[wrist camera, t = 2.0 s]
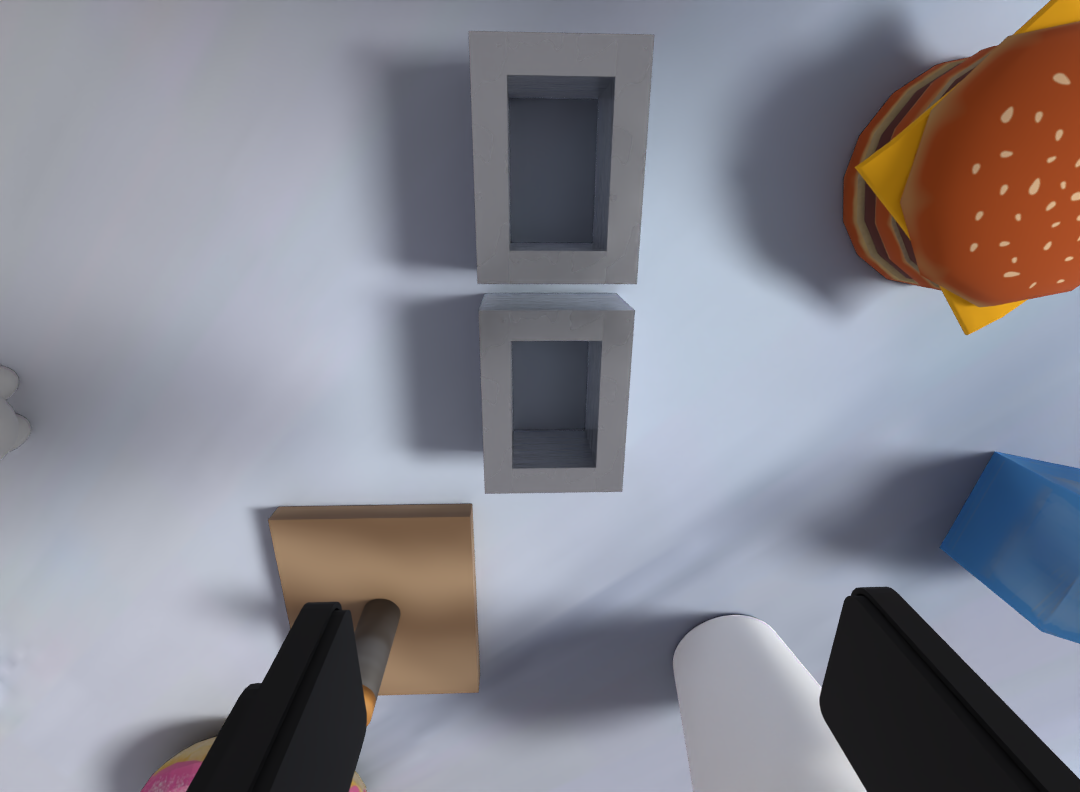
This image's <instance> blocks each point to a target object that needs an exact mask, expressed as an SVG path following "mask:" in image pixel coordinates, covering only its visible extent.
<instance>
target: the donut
mask: <svg viewBox="0 0 1080 792" xmlns="http://www.w3.org/2000/svg"><path fill="white" fill-rule="evenodd" d="M215 739H216V737H213V738H210V739H207V740H204V741H201V742H198V743H196V744H194V745H192V746H190V747H188V748H187V749H185V750H183V751H181V752H180V753H178V754H177V755H176V756H174V757H173V758H171V759H170V760H169V761H167V762H166V763H165V764H164V765H163V766H161V767H160V768H159V769H158V770H157V771H156V772H155V773H154V774H153V775H152V776H151V777H150V779H149V780H148V782H147V783H146V785H145V786H144V787H143V789H142V790H141V792H186V790H187V789H188V787H189V785H190V783H191V782H192V780H193V778H194V776H195V774H196V773H197V771H198V769H199V767H200V766H201V764H202V762H203V760H204V759H205V757H206V755H207V753H208V751H209V750H210V748H211V746H212V744H213V743H214V741H215ZM349 792H367V790H366V786H365V785H364V783H363V781H362V780H361V778H360V777H359V775H358V773H357V772H356V771H355V772H354V776H353V779H352V783H351V786H350V790H349Z"/></svg>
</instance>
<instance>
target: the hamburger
mask: <svg viewBox="0 0 1080 792" xmlns="http://www.w3.org/2000/svg"><path fill="white" fill-rule="evenodd" d="M843 222H844V225H845V227H846V229H847V232H848V234H849V236H850V239H851V241H852V244H853V246H854V248H855V251H856V253H857V255H858V256H859V257H861V258H862V259H863V260H864V261H865V262H867V263H868V264H869V265H870V266H872V267H873V268H874V269H875V270H876V271H878V272H879V273H880V274H881V275H882V276H884V277H885V278H886V279H889V280H894V281H898V282H903V283H908V284H912V285H917V286H921V287H926V288H932V289H937V290H942V292H943V294H944V296H945V298H946V299H947V301H948V303H949V305H950V307H951V309H952V311H953V313H954V315H955V316H956V318H957V320H958V322H959V324H960V326H961V328H962V330H963V331H964V333H965V335H969V334H971V333H973V332H975V331H976V330H978V329H980V328H982V327H984V326H986V325H988V324H990V323H992V322H994V321H996V320H998V319H1000V318H1002V317H1003V316H1005V315H1006V314H1008V313H1009V312H1010V311H1012V310H1013V309H1015V308H1016V307H1018V306H1019V305H1020V304H1022V303H1023V302H1025V301H1026V300H1028V299H1032V298H1037V297H1042V296H1048V295H1053V294H1058V293H1063V292H1068V291H1072V290H1073V289H1075V288H1076V287H1078V286H1079V285H1080V0H1050V1H1049V2H1048V3H1047V4H1046V5H1045V6H1044V7H1043V8H1042V9H1041V10H1040V11H1038V12H1037V13H1036V14H1035V15H1034V16H1033V17H1032V18H1031V19H1030V20H1029V21H1027V22H1026V23H1025V24H1024V25H1023V26H1022V27H1021V28H1020V29H1019V30H1018V31H1016V32H1015V33H1014V34H1013V35H1011V36H1008V37H1007V38H1006V39H1005V40H1004V41H1003V42H1001V43H1000V44H999V45H998V46H993V47H989V48H986V49H983V50H981V51H979V52H978V53H976V54H975V55H973V56H971V57H968V58H963V59H958V60H954V61H949V62H944V63H941V64H938V65H935V66H934V67H932V68H931V69H929V70H928V71H926V72H924V73H923V74H921V75H920V76H918V77H917V78H915V79H914V80H912V81H911V82H909V83H908V84H906V85H905V86H903V87H902V88H900V89H899V90H897V91H896V92H894V93H893V94H892V95H891V96H890V97H889V99H888V100H887V101H886V103H885V104H884V105H883V106H882V108H881V109H880V110H879V111H878V113H877V114H876V115H875V117H874V118H873V119H872V120H871V122H870V123H869V124H868V125H867V127H866V128H865V129H864V130H863V132H862V133H861V134H860V136H859V138H858V141H857V143H856V146H855V149H854V151H853V154H852V157H851V160H850V162H849V165H848V168H847V170H846V173H845V176H844V190H843Z"/></svg>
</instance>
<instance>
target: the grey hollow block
mask: <svg viewBox="0 0 1080 792" xmlns="http://www.w3.org/2000/svg"><path fill="white" fill-rule="evenodd" d="M653 46H654V35H644V34H592V33H540V32H488V31H469V54H470V82H471V111H472V139H473V168H474V196H475V225H476V253H477V282H478V284H637V273H638V259H639V245H640V231H641V217H642V202H643V188H644V174H645V160H646V145H647V131H648V117H649V103H650V89H651V74H652V60H653ZM509 98H559V99H598V117H597V142H596V167H595V192H594V217H593V242H592V243H511V219H510V140H509Z"/></svg>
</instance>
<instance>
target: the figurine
mask: <svg viewBox="0 0 1080 792" xmlns="http://www.w3.org/2000/svg"><path fill="white" fill-rule="evenodd" d="M18 386H19V378H18V376H17V374H16V373H15V372H14V371H13V370H11V369H9V368H7V367H4V366H0V460H1V459H3V458H4V457H5V456H6V455H7V454H8V453H9V452H11V451H13V450H15V449H16V448H18V447H19V446H21V445H22V444H23V443H24V442H25V441H26V440H27V439H28V437H29V436H30V434H31V425H30V423H29V421H28V420H27V419H26V418H25V417H23V416H21V415H18V414H15V411H14V410H13V408H12V407H11V405H10V404H9V403H8V402H7V401H6V400H7V399H8V398H9V397H10V396H12V395H13V394H14V392H15V391H16V389H18Z"/></svg>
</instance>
